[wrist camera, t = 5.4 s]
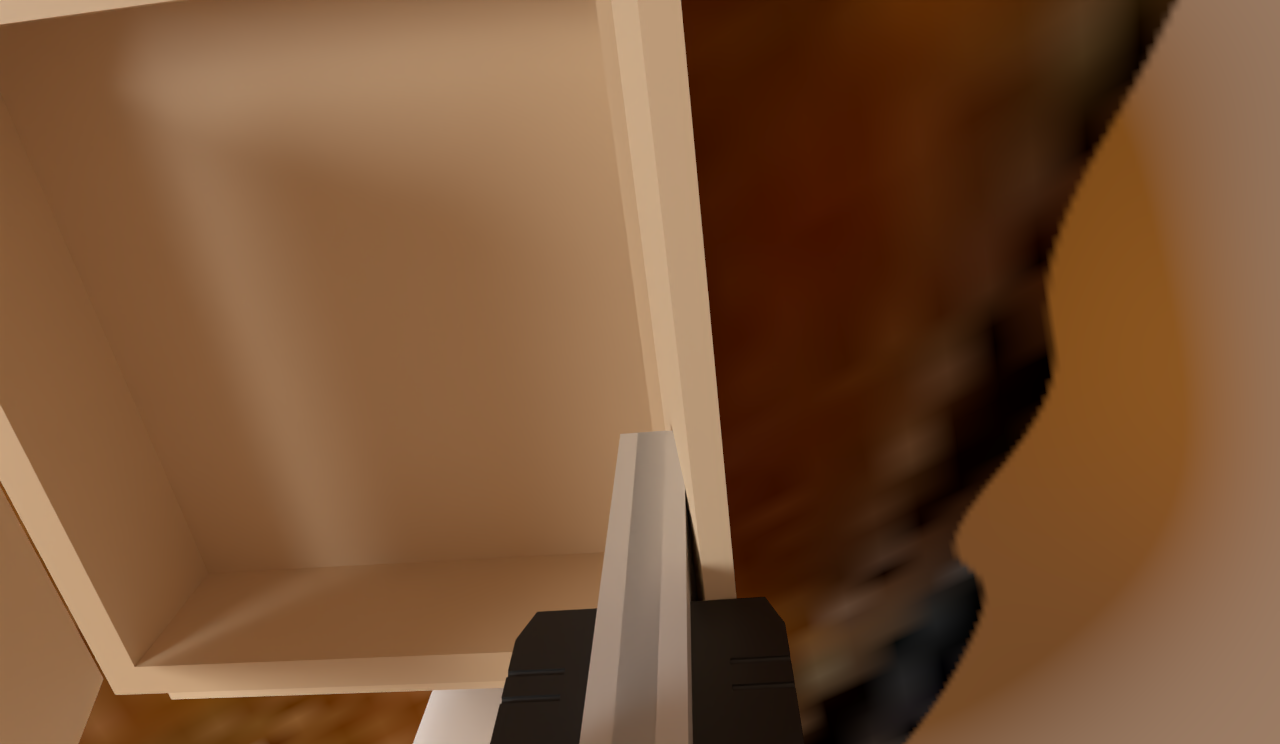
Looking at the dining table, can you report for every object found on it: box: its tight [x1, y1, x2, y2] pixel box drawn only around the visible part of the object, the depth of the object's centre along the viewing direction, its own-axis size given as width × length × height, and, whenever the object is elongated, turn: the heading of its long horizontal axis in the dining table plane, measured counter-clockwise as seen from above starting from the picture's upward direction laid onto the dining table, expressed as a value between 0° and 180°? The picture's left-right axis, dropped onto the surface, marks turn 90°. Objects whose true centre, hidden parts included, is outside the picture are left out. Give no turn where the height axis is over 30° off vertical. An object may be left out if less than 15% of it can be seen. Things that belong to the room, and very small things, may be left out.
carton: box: [0, 0, 665, 699], centre depth 21 cm, size 19×17×4 cm
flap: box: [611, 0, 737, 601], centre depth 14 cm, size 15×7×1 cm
